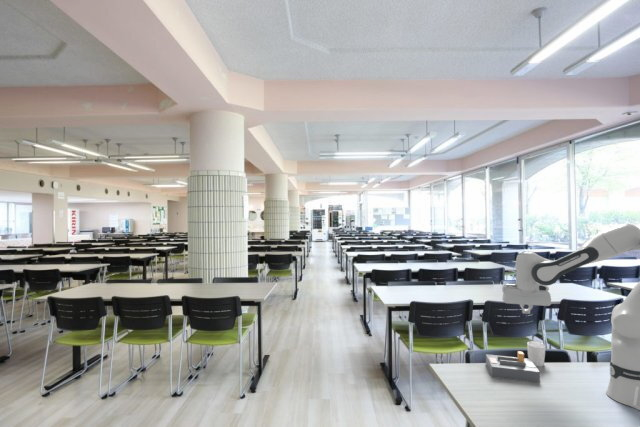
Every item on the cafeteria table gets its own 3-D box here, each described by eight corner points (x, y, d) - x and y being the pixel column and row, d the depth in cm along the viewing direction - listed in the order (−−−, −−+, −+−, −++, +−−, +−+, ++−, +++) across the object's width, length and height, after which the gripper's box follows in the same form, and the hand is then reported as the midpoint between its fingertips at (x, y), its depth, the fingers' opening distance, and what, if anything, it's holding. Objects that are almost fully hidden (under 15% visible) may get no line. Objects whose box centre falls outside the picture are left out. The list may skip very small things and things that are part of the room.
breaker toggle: (522, 361, 162) (522, 351, 162) (524, 364, 160) (524, 354, 160) (517, 361, 163) (517, 351, 163) (519, 364, 160) (519, 353, 160)
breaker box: (529, 368, 166) (529, 355, 166) (539, 382, 153) (539, 368, 153) (485, 363, 172) (485, 351, 172) (492, 377, 158) (492, 363, 158)
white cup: (530, 358, 177) (530, 340, 177) (547, 364, 171) (547, 344, 171) (524, 363, 172) (524, 344, 172) (542, 368, 166) (542, 348, 166)
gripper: (504, 285, 162) (504, 313, 162) (552, 287, 156) (552, 317, 156) (500, 282, 168) (500, 309, 168) (547, 284, 162) (547, 313, 162)
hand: (526, 313), depth 162 cm, fingers closed
